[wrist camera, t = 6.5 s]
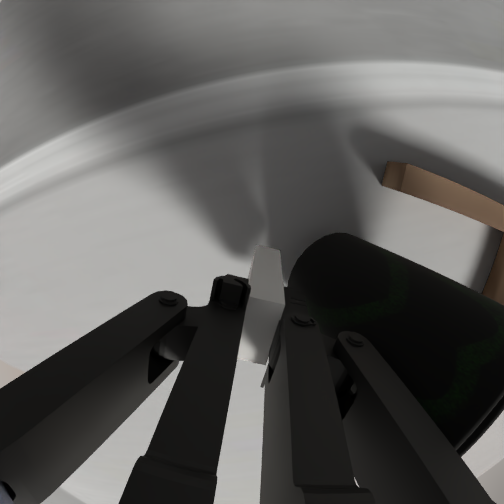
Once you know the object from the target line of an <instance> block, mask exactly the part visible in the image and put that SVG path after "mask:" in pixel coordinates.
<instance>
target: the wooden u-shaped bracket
mask: <svg viewBox="0 0 504 504" xmlns="http://www.w3.org/2000/svg"><path fill="white" fill-rule="evenodd" d="M382 186H385V187H388V188H391V189H394V190H397V191H400V192H403V193H406V194H409V195H412V196H414V197H417V198H420V199H423V200H426V201H428V202H431V203H434V204H437V205H439V206H442V207H445V208H447V209H450V210H452V211H455V212H457V213H460V214H462V215H465V216H467V217H470V218H472V219H475V220H477V221H480V222H482V223H484V224H487V225H489V226H491V227H493V228H496V229H498V230H500V231H502V232H504V205H502V204H500V203H498V202H496V201H494V200H492V199H490V198H488V197H486V196H484V195H481V194H479V193H477V192H475V191H473V190H471V189H469V188H466V187H464V186H462V185H460V184H457V183H455V182H453V181H450V180H448V179H446V178H443V177H441V176H439V175H436V174H434V173H431V172H429V171H426V170H424V169H421V168H418V167H416V166H413V165H410V164H408V163H399V162H389V161H387V165H386V169H385V174H384V178H383V181H382ZM482 294H483V295H485V296H487V297H489V298H490V299H492V300H494V301H496V302H498V303H500V304H502V305H504V234H503V237H502V240H501V243H500V246H499V249H498V252H497V255H496V258H495V261H494V264H493V267H492V269H491V272H490V275H489V277H488V280H487V282H486V285H485V287H484V290H483V292H482Z"/></svg>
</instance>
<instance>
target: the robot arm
mask: <svg viewBox="0 0 504 504" xmlns="http://www.w3.org/2000/svg"><path fill="white" fill-rule="evenodd" d="M268 356H269V364H268V367H267V369H266V372H265V375H264V378H263V381H262V384H261V387H264V385H265V398H264V424H263V447H262V469H261V489H260V504H496V503H495V502H494V501H492V500H491V498H490V497H489V496H488V494H487V493H486V491H485V490H484V488H483V487H482V486H481V484H480V483H479V481H478V480H477V479H476V477H475V476H474V475H473V473H472V472H471V470H470V469H469V468H468V466H467V465H466V464H465V462H464V461H463V460H462V458H461V457H460V456H459V454H458V453H457V452H456V450H455V449H454V448H453V446H452V445H451V444H450V442H449V441H448V440H447V438H446V437H445V436H444V434H443V433H442V432H441V430H440V429H439V428H438V427H437V425H436V424H435V423H434V421H433V420H432V419H431V417H430V416H429V415H428V414H427V412H426V411H425V410H424V408H423V407H422V406H421V405H420V403H419V402H418V401H417V400H416V398H415V397H414V396H413V395H412V393H411V392H410V391H409V389H408V388H407V387H406V386H405V384H404V383H403V382H402V381H401V379H400V378H399V377H398V376H397V374H396V373H395V372H394V371H393V370H392V368H391V367H390V366H389V365H388V363H387V362H386V361H385V360H384V358H383V357H382V356H381V355H380V354H379V352H378V351H377V350H376V349H375V347H374V346H373V345H372V344H371V343H370V341H369V340H367V339H366V338H365V337H364V336H362V335H361V334H359V333H356V332H350V331H343V332H341V333H339V335H338V337H337V339H334V338H331V337H328V336H326V335H324V334H322V333H321V332H320V328H319V325H318V323H317V321H316V320H314V319H313V318H312V317H310V316H309V313H308V309H307V304H306V300H305V296H304V295H303V294H302V293H301V291H300V290H296V289H292V288H288V287H284V286H283V275H282V264H281V254H280V250H278V249H273V248H269V247H265V246H261V245H257V244H256V247H255V251H254V255H253V260H252V264H251V268H250V272H249V276H248V279H246V278H242V277H238V276H234V275H230V274H227V275H225V276H219V277H216V278H215V279H214V281H213V286H212V291H211V296H210V301H209V303H208V305H206V306H202V307H190V306H187V300H186V299H185V298H184V297H183V296H182V295H180V294H178V293H174V292H172V291H158V292H155V293H153V294H151V295H149V296H148V297H146V298H144V299H143V300H141V301H139V302H138V303H136V304H135V305H133V306H131V307H130V308H128V309H126V310H125V311H123V312H121V313H120V314H118V315H117V316H115V317H113V318H112V319H110V320H108V321H107V322H105V323H104V324H102V325H100V326H99V327H97V328H96V329H94V330H92V331H91V332H89V333H87V334H86V335H84V336H83V337H81V338H79V339H78V340H76V341H75V342H73V343H71V344H70V345H68V346H67V347H65V348H63V349H62V350H60V351H59V352H57V353H55V354H54V355H52V356H51V357H49V358H48V359H46V360H44V361H43V362H41V363H40V364H38V365H37V366H35V367H33V368H32V369H30V370H29V371H27V372H26V373H24V374H22V375H21V376H19V377H18V378H16V379H15V380H13V381H11V382H10V383H8V384H7V385H5V386H4V387H2V388H1V389H0V504H40V503H41V502H43V501H44V500H45V499H46V498H47V497H49V496H50V495H51V494H52V493H53V492H54V491H55V490H56V489H57V488H58V487H59V486H60V485H61V484H62V483H63V482H64V481H65V480H66V479H67V478H68V477H69V476H70V475H71V474H72V473H74V472H75V471H76V470H77V469H78V468H79V467H80V466H81V465H82V464H83V463H84V462H85V461H86V460H87V459H88V458H89V457H90V456H91V455H92V454H93V453H94V452H95V451H96V450H97V449H98V448H99V447H100V446H101V445H102V444H103V443H104V442H105V440H106V439H107V438H108V437H109V436H110V435H111V434H112V433H113V432H114V431H115V430H116V429H117V428H118V427H119V426H120V425H121V424H122V423H123V422H124V421H125V420H126V419H127V418H128V417H129V416H130V415H131V414H132V413H133V412H134V411H135V410H136V409H137V408H138V407H139V406H140V405H141V404H142V403H143V402H144V400H145V399H146V398H147V397H148V396H149V395H150V394H151V393H152V392H153V391H154V390H155V389H156V388H157V387H158V386H159V385H160V384H161V383H162V382H163V381H164V380H165V379H166V377H167V376H168V375H169V374H170V373H171V372H172V371H173V370H174V369H175V368H176V367H177V365H178V363H179V361H184V362H183V364H182V367H181V369H180V371H179V374H178V376H177V379H176V381H175V383H174V386H173V388H172V391H171V393H170V396H169V398H168V400H167V403H166V405H165V408H164V410H163V413H162V415H161V417H160V420H159V422H158V425H157V427H156V430H155V432H154V435H153V437H152V440H151V442H150V445H149V447H148V450H147V452H146V454H145V455H144V456H140V457H139V458H138V460H137V461H136V463H135V465H134V467H133V470H132V472H131V475H130V477H129V479H128V482H127V484H126V487H125V489H124V492H123V494H122V497H121V499H120V502H119V504H213V502H214V497H215V491H216V485H217V476H216V473H217V467H218V461H219V456H220V451H221V445H222V440H223V434H224V429H225V423H226V418H227V412H228V407H229V401H230V396H231V390H232V385H233V379H234V373H235V368H236V362H237V359H240V360H245V361H249V362H253V363H258V364H263V365H266V362H267V359H268ZM353 383H355V384H356V387H357V390H356V392H355V393H353V392H352V391H351V387H352V385H353ZM354 477H355V479H356V481H357V483H358V485H359V487H360V488H359V487H358V486H357V485H356V483H355V480H354Z"/></svg>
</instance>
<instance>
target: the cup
mask: <svg viewBox="0 0 504 504" xmlns="http://www.w3.org/2000/svg"><path fill="white" fill-rule="evenodd" d="M288 288H292V289H296V290H300V291H301V293H302V294H303V295H304V296H305V300H306V304H307V309H308V313H309V316H310V317H312V318H313V319H314V320H316V321H317V323H318V325H319V328H320V332H321V333H322V334H324V335H326V336H328V337H331V338H334V339H337V337H338V335H339V333H341V332H343V331H350V332H356V333H359V334H361V335H362V336H364V337H365V338H366V339H367V340H369V341H370V343H371V344H372V345H373V346H374V347H375V349H376V350H377V351H378V352H379V354H380V355H381V356H382V357H383V358H384V360H385V361H386V362H387V363H388V365H389V366H390V367H391V368H392V370H393V371H394V372H395V373H396V374H397V376H398V377H399V378H400V379H401V381H402V382H403V383H404V384H405V386H406V387H407V388H408V389H409V391H410V392H411V393H412V395H413V396H414V397H415V398H416V400H417V401H418V402H419V403H420V405H421V406H422V407H423V408H424V410H425V411H426V412H427V414H428V415H429V416H430V417H431V419H432V420H433V421H434V423H435V424H436V425H437V427H438V428H439V429H440V430H441V432H442V433H443V434H444V436H445V437H446V438H447V440H448V441H449V442H450V444H451V445H452V446H453V448H454V449H455V450H456V452H457V453H458V454H459V456H460V457H462V456H463V455H464V454H465V453H466V452H467V451H468V450H469V449H470V448H471V447H472V446H473V445H474V444H475V443H476V442H477V440H478V439H479V438H480V437H481V436H482V435H483V434H484V433H485V432H486V431H487V430H488V428H489V427H490V426H491V425H492V424H493V422H494V421H495V420H496V419H497V418H498V416H499V415H500V414H501V413H502V411H503V410H504V305H502V304H500V303H498V302H496V301H494V300H492V299H490V298H489V297H487V296H485V295H483V294H481V293H478V292H476V291H474V290H472V289H470V288H468V287H466V286H464V285H462V284H460V283H458V282H456V281H454V280H452V279H450V278H447V277H445V276H443V275H441V274H439V273H437V272H435V271H432V270H430V269H428V268H426V267H424V266H422V265H419V264H417V263H415V262H413V261H411V260H408V259H406V258H404V257H402V256H399V255H397V254H395V253H392V252H390V251H388V250H386V249H383V248H381V247H379V246H376V245H374V244H372V243H369V242H367V241H365V240H362V239H360V238H357V237H355V236H352V235H350V234H347V233H334V234H330V235H326V236H324V237H322V238H321V239H319V240H317V241H315V242H314V243H313V244H312V245H310V246H309V247H308V248H307V249H306V250H305V251H304V252H303V253H302V255H301V256H300V257H299V258H298V260H297V262H296V263H295V265H294V267H293V269H292V271H291V274H290V278H289V281H288ZM356 390H357V387H356V384H355V383H353V385H352V387H351V391H352V392H353V393H355V392H356Z"/></svg>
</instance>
